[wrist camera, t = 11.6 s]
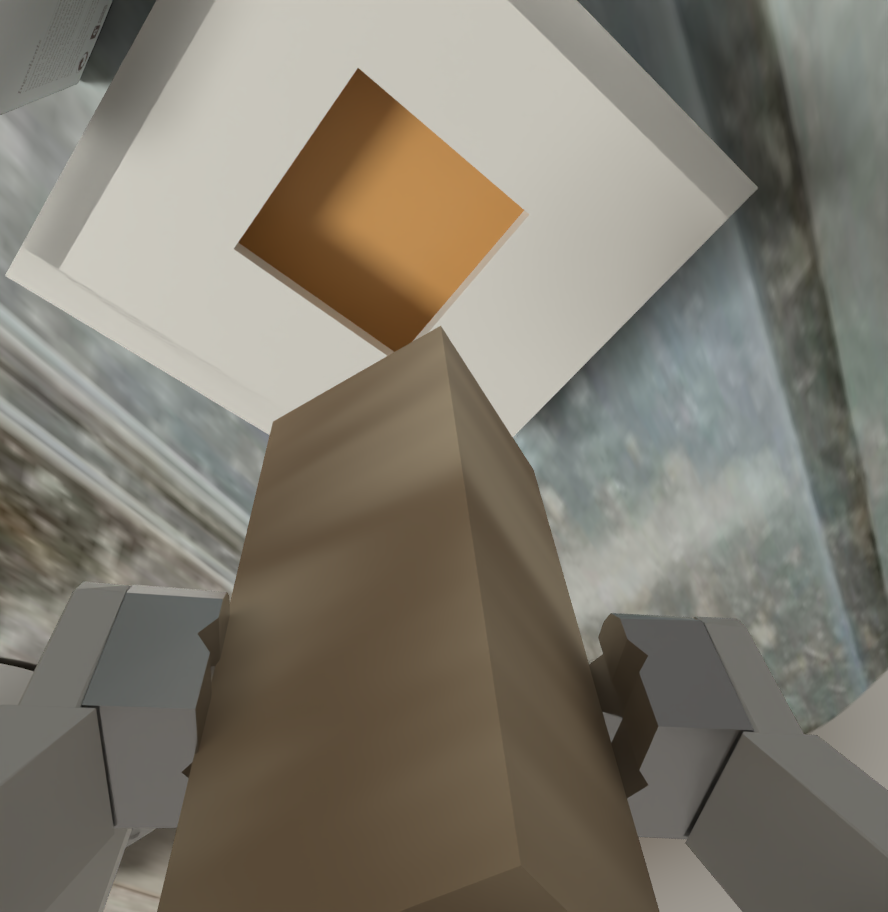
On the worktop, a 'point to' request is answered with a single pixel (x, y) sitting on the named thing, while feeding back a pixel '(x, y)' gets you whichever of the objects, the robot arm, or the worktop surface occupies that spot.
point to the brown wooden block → (403, 677)
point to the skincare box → (45, 46)
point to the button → (379, 216)
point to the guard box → (285, 134)
